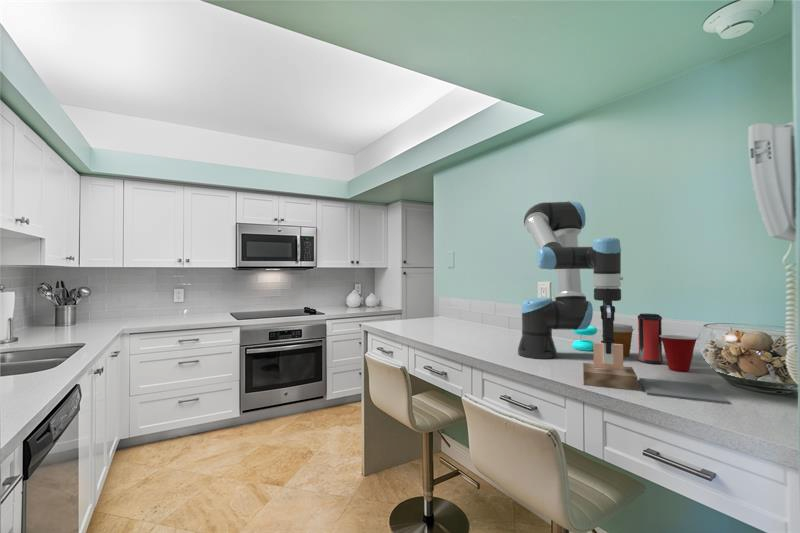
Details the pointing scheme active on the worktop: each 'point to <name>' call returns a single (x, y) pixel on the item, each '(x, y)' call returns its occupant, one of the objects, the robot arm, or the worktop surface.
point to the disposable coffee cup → (623, 337)
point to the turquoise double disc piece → (585, 344)
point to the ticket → (616, 357)
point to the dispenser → (610, 377)
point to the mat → (682, 390)
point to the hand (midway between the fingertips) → (608, 363)
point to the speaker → (650, 338)
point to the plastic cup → (678, 351)
